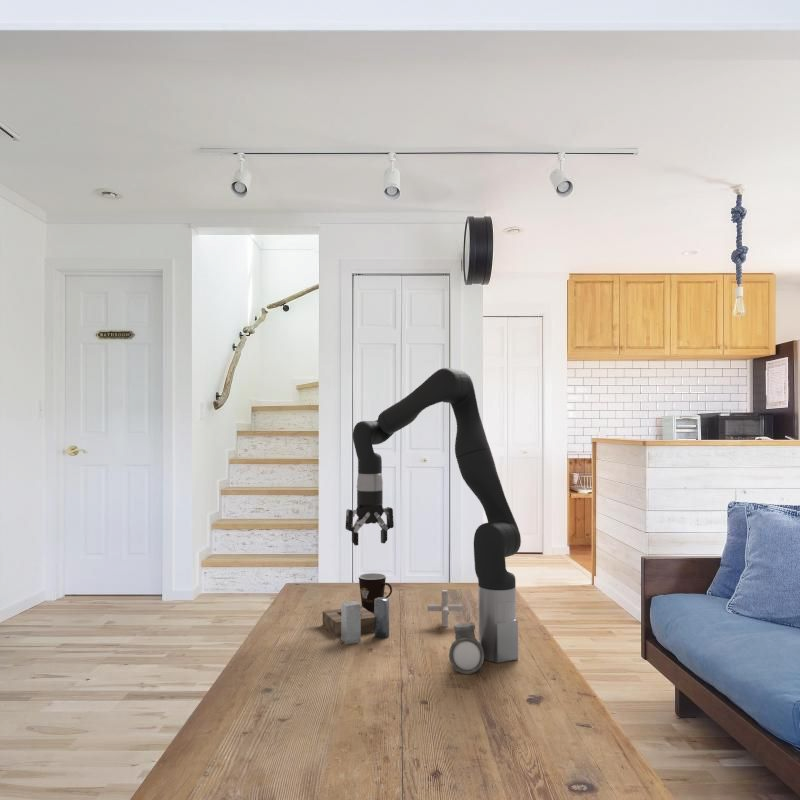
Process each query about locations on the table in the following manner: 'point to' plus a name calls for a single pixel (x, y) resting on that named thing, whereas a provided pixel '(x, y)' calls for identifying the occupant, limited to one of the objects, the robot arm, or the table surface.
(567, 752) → the table surface
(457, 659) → the pipe fitting
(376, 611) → the round bit
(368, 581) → the coffee mug
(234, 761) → the table surface
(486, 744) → the table surface
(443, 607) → the pipe connector
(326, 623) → the socket block
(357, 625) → the square bit
